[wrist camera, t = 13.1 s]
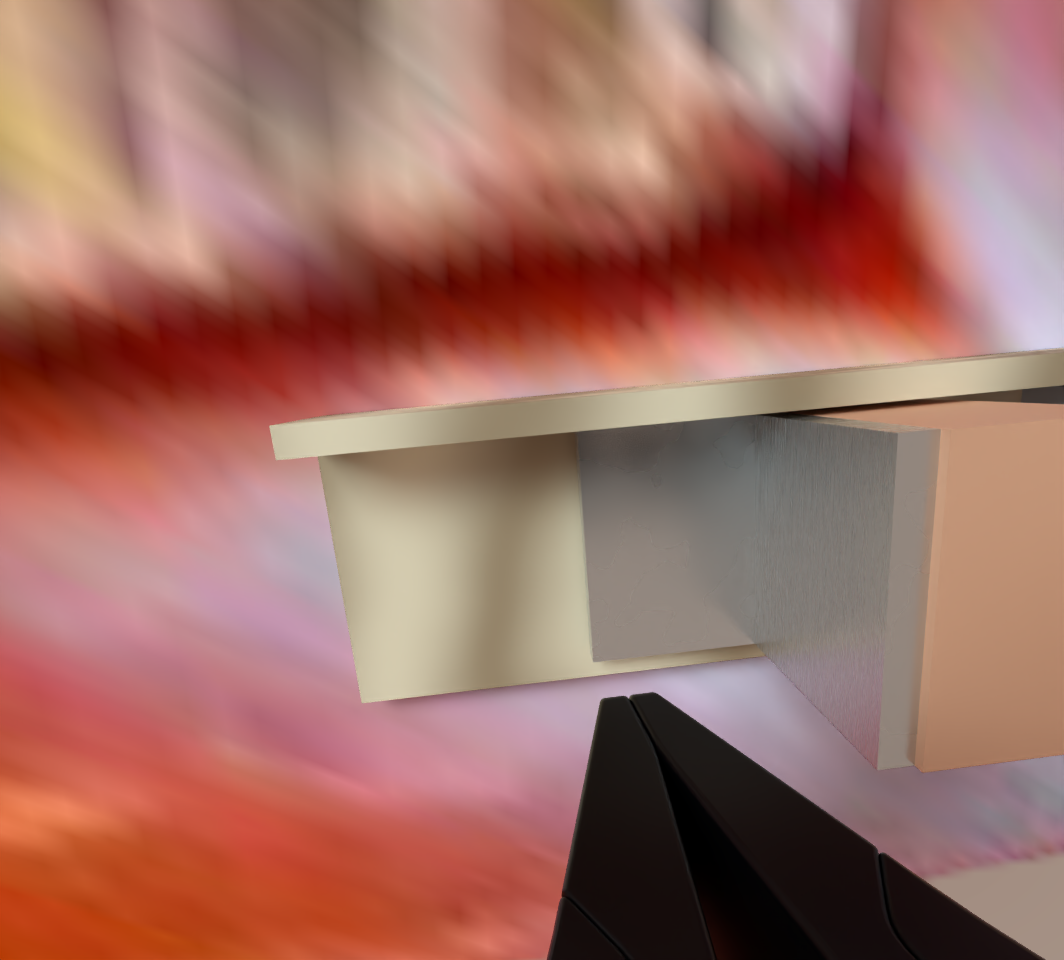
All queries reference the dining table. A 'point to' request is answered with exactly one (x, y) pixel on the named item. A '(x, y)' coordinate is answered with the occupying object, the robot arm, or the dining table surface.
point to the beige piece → (536, 513)
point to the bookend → (770, 555)
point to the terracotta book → (990, 580)
